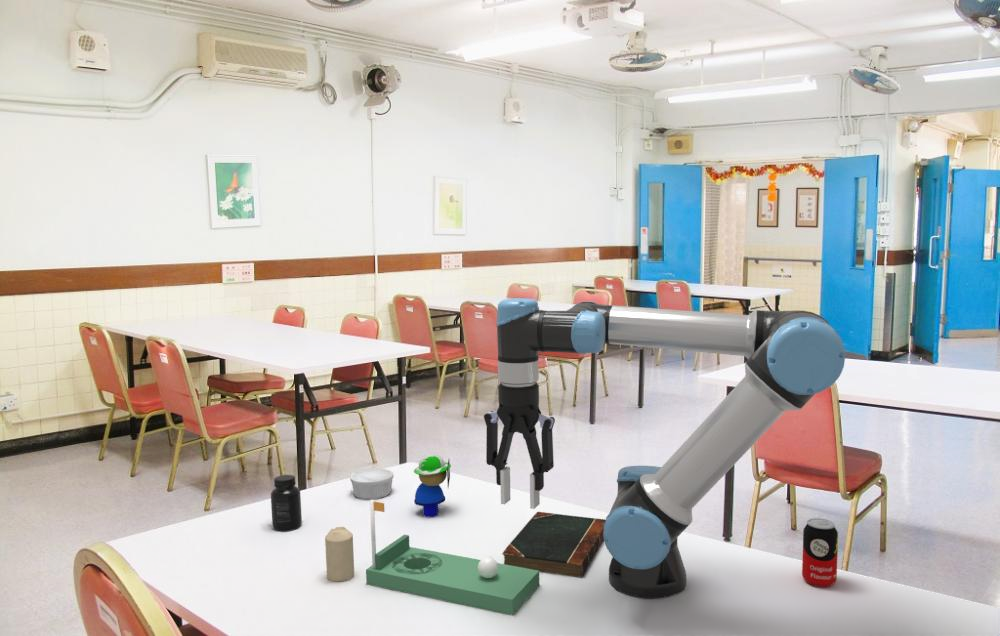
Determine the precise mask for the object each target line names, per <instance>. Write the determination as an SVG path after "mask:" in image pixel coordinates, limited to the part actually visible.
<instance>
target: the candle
mask: <svg viewBox="0 0 1000 636" xmlns="http://www.w3.org/2000/svg"><path fill="white" fill-rule="evenodd" d="M353 535H354V534H353V533H352V532H351V531H350V530H349V529H347V528H346V527H345V526H336V527H335V528H331V529H330V530H329V532H328V533H327V534H326V535H325V537H324V540H325V541H324V545H325V560H326V561H325V564H326V578H327V579H328V581H331V582H337V583H339V582H345V581H349V580H351V579H352V578H353V577H354V575H355V559H354V556H355V555H354V538H353Z"/></svg>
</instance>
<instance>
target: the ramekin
mask: <svg viewBox="0 0 1000 636" xmlns="http://www.w3.org/2000/svg"><path fill="white" fill-rule="evenodd" d="M393 479H394V472H393V471H391V470H389V469H386V468H366V469H362V470H358V471H356V472H353V473H352V474H351V475H350V479H349V480H350V482H351V485H352V486H351V487H352V490H353V493H354V495H355V496H356V498H358V499H362V500H378V499H382V498H385V497H387V496H388V495H390V494H391V491H392V486H393Z"/></svg>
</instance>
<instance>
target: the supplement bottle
mask: <svg viewBox="0 0 1000 636" xmlns="http://www.w3.org/2000/svg"><path fill="white" fill-rule="evenodd" d="M273 481H274V482H273V486H274V489H272V490H271V493H270V503H271V504H270V506H271V520H272V521H271V523H272V528H273V529H274V530H276V531H279V532H287V531H293V530H296V529H298V528H300V527H301V526H302V523H303V519H302V515H303V514H302V501H301V499H302V498H301V497H302V496H301V490H300V488H299V487H297V486H296V483H297V482H296V476H295V475H294V474H282V475H278V476H275V478H274V479H273Z"/></svg>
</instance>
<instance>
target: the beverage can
mask: <svg viewBox="0 0 1000 636" xmlns="http://www.w3.org/2000/svg"><path fill="white" fill-rule="evenodd" d="M802 535H803V537H802V559H801V560H802V563H801V565H802V566H801V575H802V578H803V579H804V580H805V582H806V583H808V584H809V585H811V586H814V587H820V588H827V587H830V586H833V584H835V583H836V582H837V578H838V577H837V574H838V555H839V554H838V552H839V551H838V549H839V547H838V546H839V532H838V530H837V528H836V523H835V522H833V521H832V520H829V519H826V518H825V519H824V518H819V517H817V518H815V517H814V518H809V519H807V521H806V525H805V526H804V528H803V534H802Z"/></svg>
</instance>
